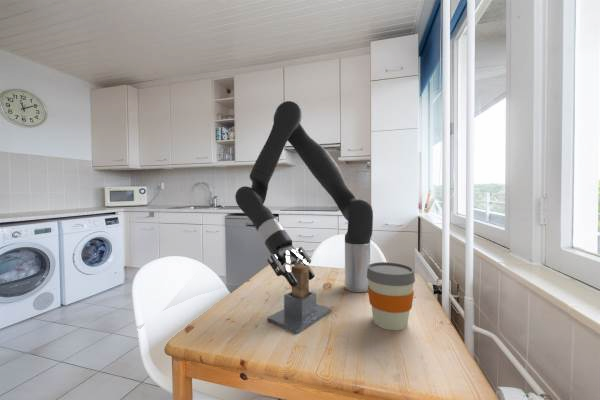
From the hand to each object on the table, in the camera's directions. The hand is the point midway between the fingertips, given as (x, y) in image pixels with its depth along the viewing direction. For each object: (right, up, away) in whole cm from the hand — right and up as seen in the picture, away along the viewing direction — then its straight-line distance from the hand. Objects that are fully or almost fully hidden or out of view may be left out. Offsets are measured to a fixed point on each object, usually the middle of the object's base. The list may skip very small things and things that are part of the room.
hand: (304, 281), depth 76 cm
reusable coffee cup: (+24, -11, -2) cm, 26 cm away
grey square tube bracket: (-1, -10, +1) cm, 11 cm away
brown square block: (-1, -8, +1) cm, 8 cm away
